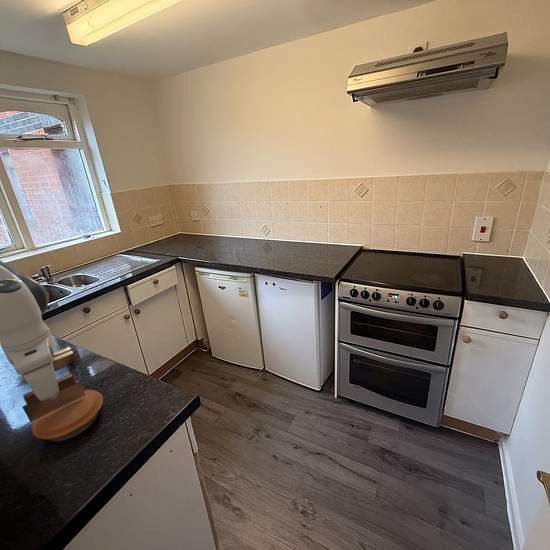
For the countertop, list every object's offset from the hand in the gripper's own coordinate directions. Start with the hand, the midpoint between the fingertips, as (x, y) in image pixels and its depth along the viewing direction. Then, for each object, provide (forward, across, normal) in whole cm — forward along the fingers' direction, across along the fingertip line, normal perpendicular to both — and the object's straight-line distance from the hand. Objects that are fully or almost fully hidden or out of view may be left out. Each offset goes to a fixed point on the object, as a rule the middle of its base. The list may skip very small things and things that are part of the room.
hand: (52, 393), depth 74 cm
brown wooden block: (+5, 0, 0) cm, 5 cm away
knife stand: (+10, -31, 0) cm, 32 cm away
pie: (+10, +1, +1) cm, 10 cm away
